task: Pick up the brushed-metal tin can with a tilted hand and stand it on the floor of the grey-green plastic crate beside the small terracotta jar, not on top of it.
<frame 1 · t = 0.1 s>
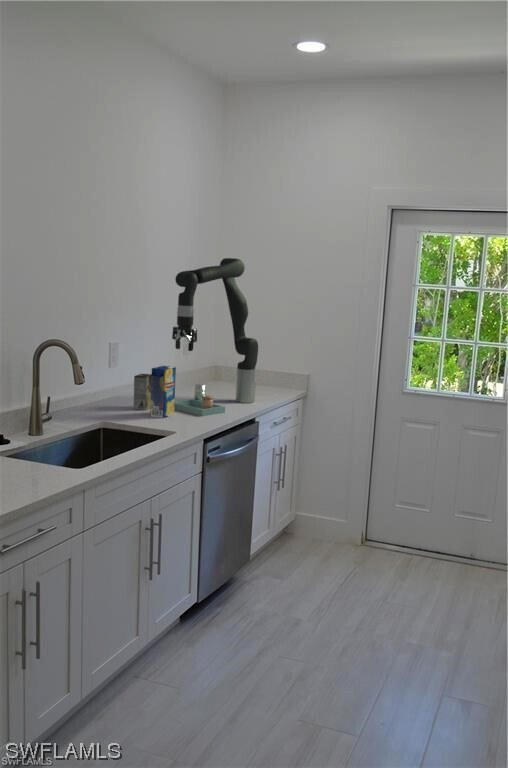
hand: (184, 349, 350), 29 cm above the worktop, tool pointing down, fingers open, 8 cm apart
crate: (197, 412, 354), on the worktop
coffee box: (142, 408, 355), on the worktop
jar: (206, 412, 349), point 1 cm above the worktop, touching crate
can: (199, 406, 367), on the worktop
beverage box: (162, 415, 342), on the worktop
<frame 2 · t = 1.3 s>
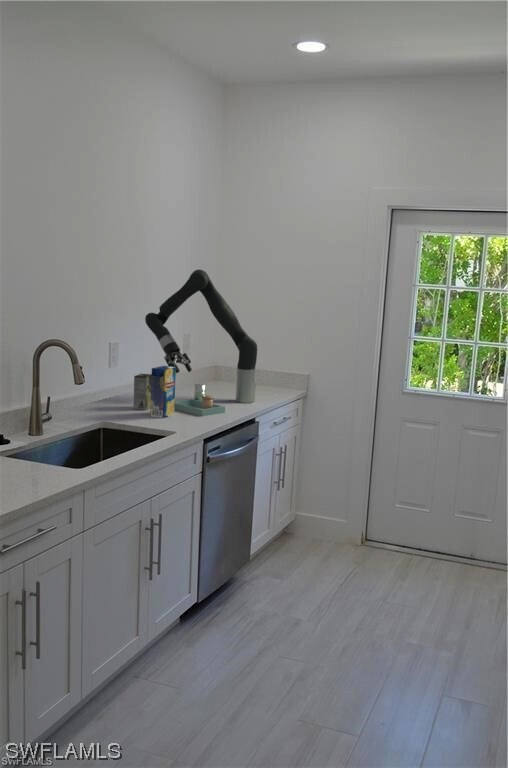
hand: (184, 371, 371), 16 cm above the worktop, tool tilted 45°, fingers open, 8 cm apart
nothing on the worktop moved.
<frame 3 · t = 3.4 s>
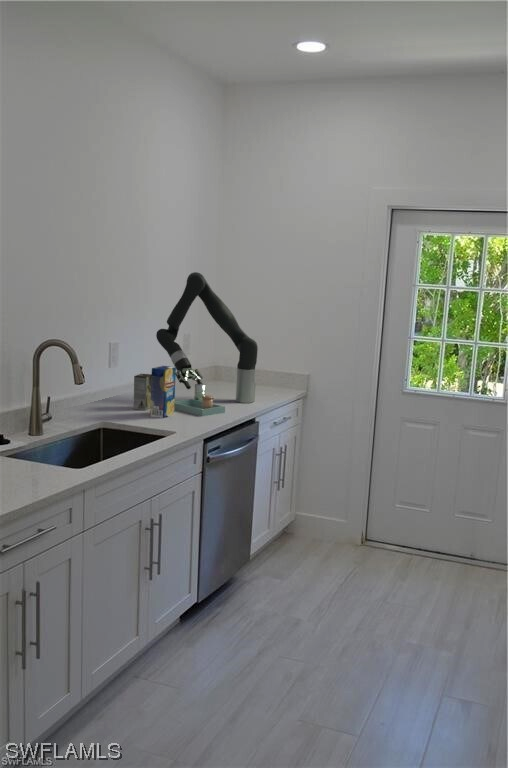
hand: (195, 387, 368), 9 cm above the worktop, tool tilted 45°, fingers open, 8 cm apart
nothing on the worktop moved.
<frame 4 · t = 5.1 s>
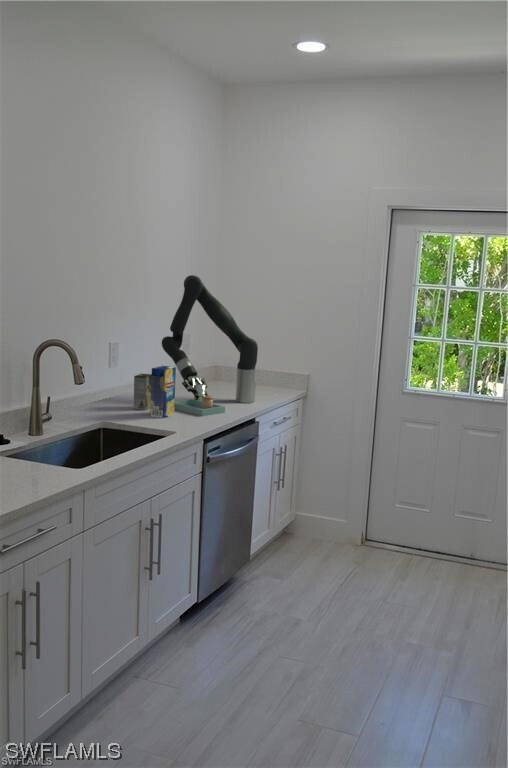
hand: (202, 396, 365), 5 cm above the worktop, tool tilted 45°, fingers closed on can, 5 cm apart
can: (199, 406, 367), on the worktop, touching gripper
everything else where it was.
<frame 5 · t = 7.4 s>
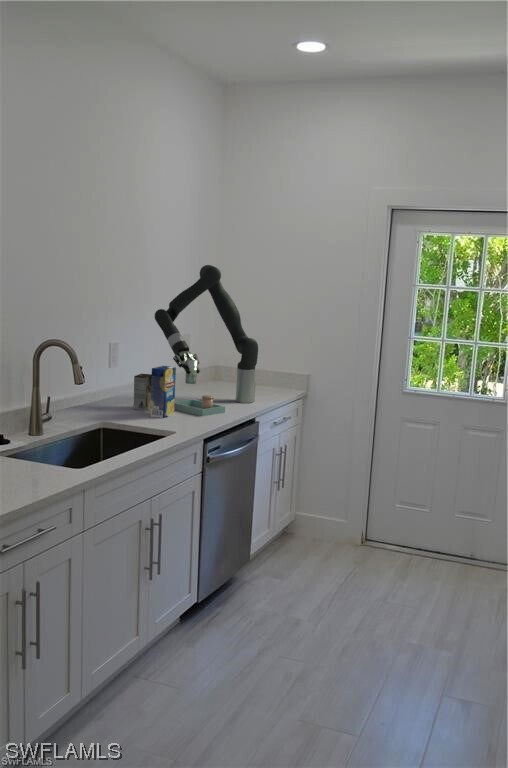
hand: (194, 372, 353), 18 cm above the worktop, tool tilted 45°, fingers closed on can, 5 cm apart
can: (190, 383, 355), point 13 cm above the worktop, touching gripper
everything else where it was.
when the fingers open (7 cm above the worktop, at t = 10.0 s): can drops 1 cm, resting on crate.
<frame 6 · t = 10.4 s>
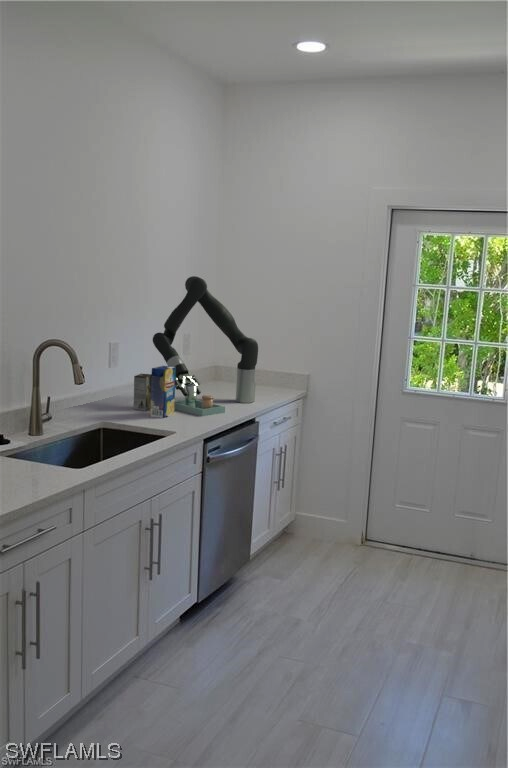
hand: (193, 394, 354), 8 cm above the worktop, tool tilted 45°, fingers open, 8 cm apart
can: (190, 408, 357), point 1 cm above the worktop, touching crate
everything else where it was.
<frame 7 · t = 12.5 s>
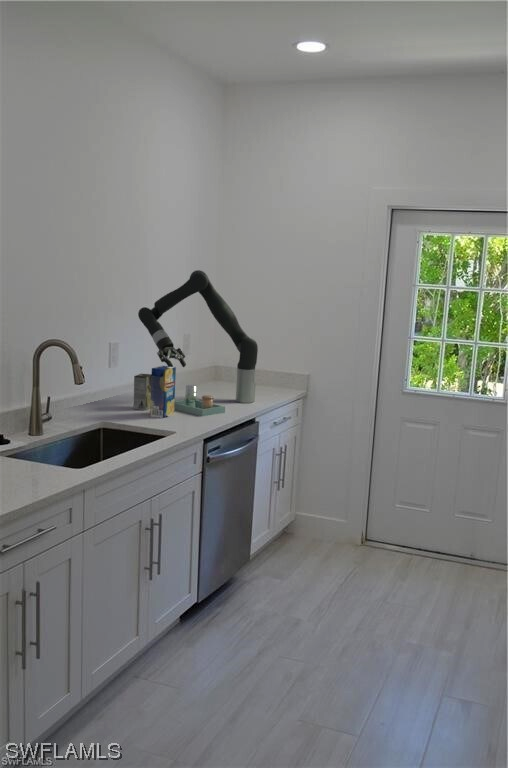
hand: (178, 366, 363), 19 cm above the worktop, tool tilted 45°, fingers open, 8 cm apart
nothing on the worktop moved.
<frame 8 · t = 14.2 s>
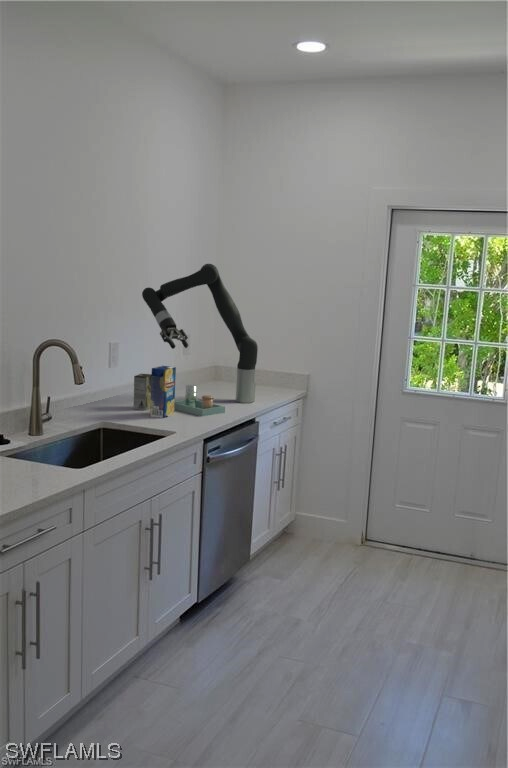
hand: (180, 347, 364), 29 cm above the worktop, tool tilted 45°, fingers open, 8 cm apart
nothing on the worktop moved.
at the end: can inside the target area on the crate (0.5 cm from its centre), point 0.8 cm above the crate's base; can tilted 0°; jar tilted 0° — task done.
